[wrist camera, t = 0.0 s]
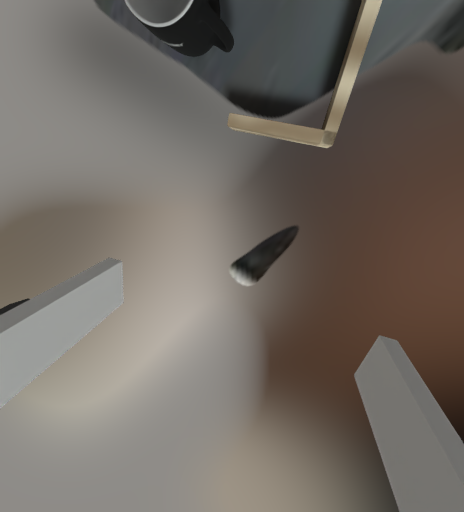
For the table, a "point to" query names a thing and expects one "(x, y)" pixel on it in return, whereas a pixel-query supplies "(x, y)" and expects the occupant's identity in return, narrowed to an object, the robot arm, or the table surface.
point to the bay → (339, 97)
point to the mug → (184, 24)
